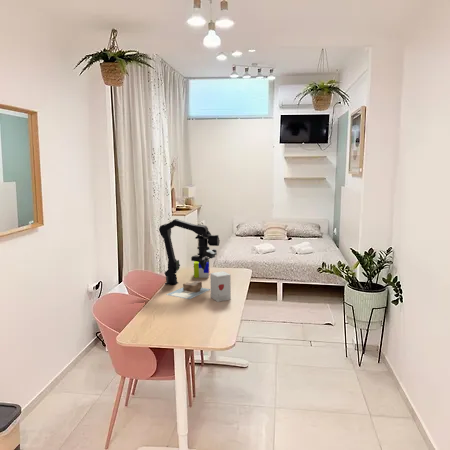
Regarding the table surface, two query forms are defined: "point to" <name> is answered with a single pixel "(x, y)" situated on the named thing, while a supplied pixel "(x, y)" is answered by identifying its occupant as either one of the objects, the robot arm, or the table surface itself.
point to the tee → (192, 286)
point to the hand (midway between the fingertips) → (203, 269)
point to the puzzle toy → (201, 270)
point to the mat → (187, 293)
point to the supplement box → (220, 286)
